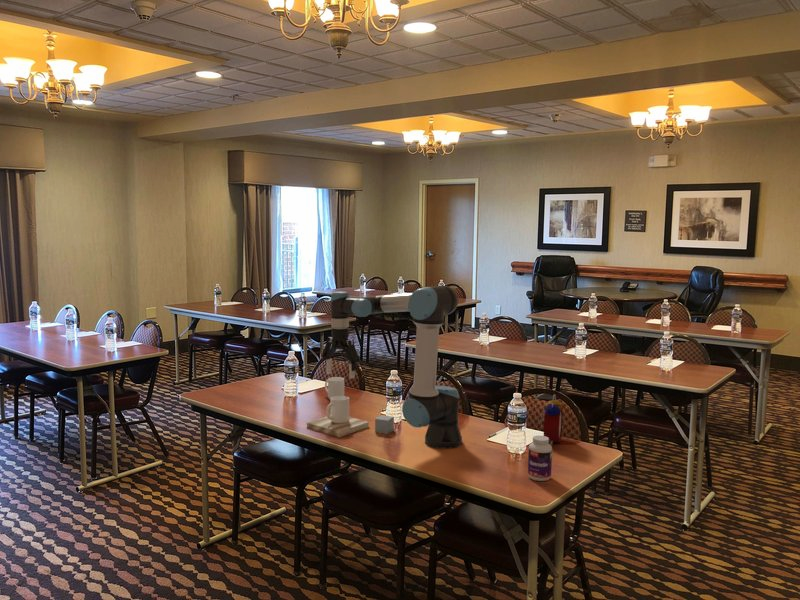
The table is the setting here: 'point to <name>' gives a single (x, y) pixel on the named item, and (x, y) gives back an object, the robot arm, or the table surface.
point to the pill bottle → (540, 459)
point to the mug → (338, 409)
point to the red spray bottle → (553, 421)
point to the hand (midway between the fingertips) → (340, 376)
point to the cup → (335, 386)
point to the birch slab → (337, 426)
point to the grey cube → (384, 424)
